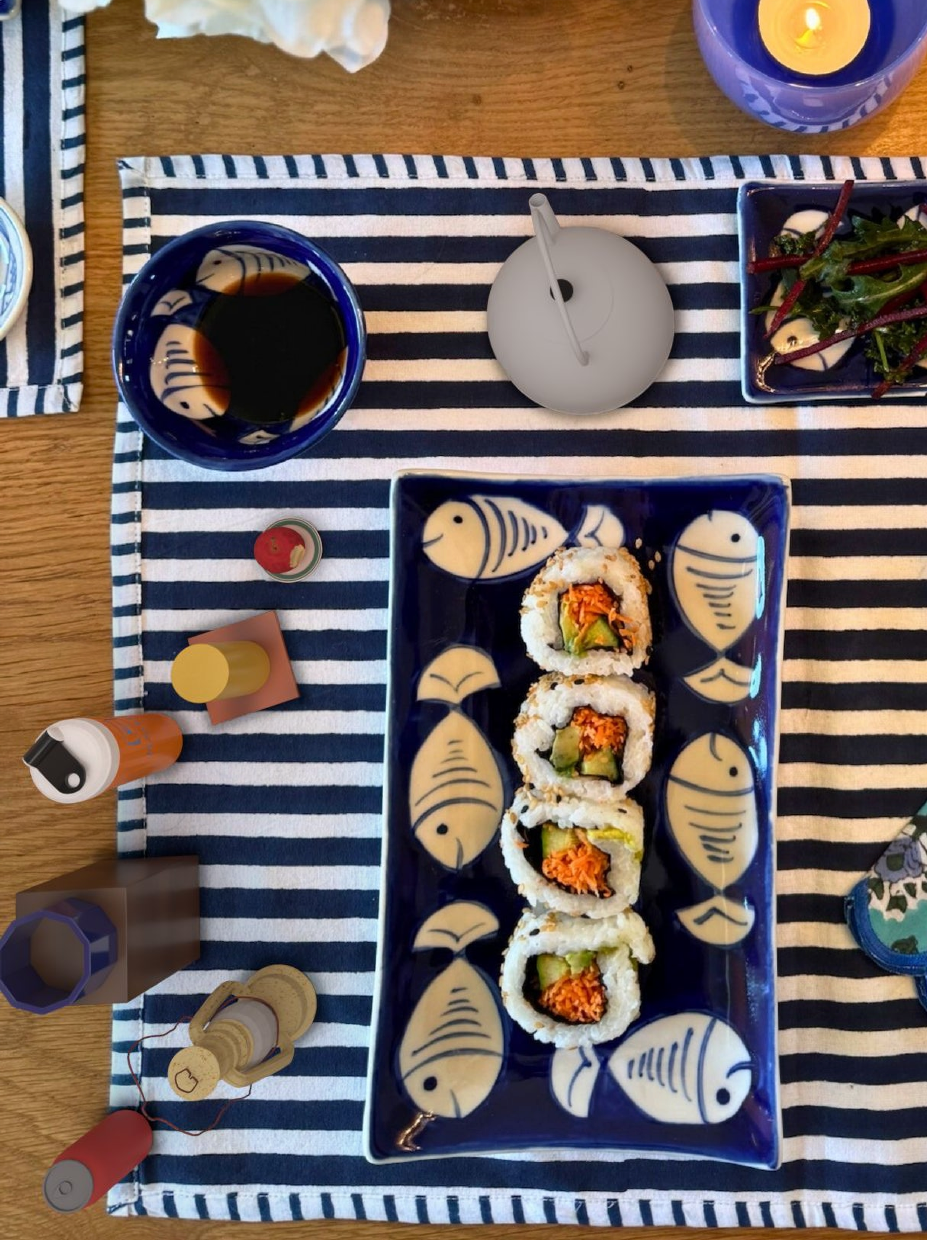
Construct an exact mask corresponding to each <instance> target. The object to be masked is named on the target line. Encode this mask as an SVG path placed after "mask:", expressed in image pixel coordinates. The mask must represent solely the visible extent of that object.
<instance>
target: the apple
mask: <svg viewBox="0 0 927 1240" xmlns="http://www.w3.org/2000/svg"><path fill="white" fill-rule="evenodd" d="M253 554H254V559H255V561H256V562H257V564H258V565H259V566H260V568H261V570H263V572H264V573H265V574H266V575H267V576H268V577H269V578H271V579H273V580H274V581H277V582H280V583H296V582H300V581H302V580H304V579H307V578H308V577H309V576H310V575H312V573H313V572H314V571H315V570H317V568H318V566H319V564H320V562H321V559H322V555H323V543H322V539H321V536H320V534H319V533H318V531H317V529H316V528H315V527H314V526H313V525H312V524H311V523H309V522H308V521H306V520H304V519H302V518H299V517H292V516H290V517H289V516H287V517H282V518H279V519H276V520H274V521H273V522H271V523H270V524H268V525H267V527H266V528H265V529H263V531H262V533H260V535H259V536H258V537H257V538H256V540H255V543H254V547H253Z"/></svg>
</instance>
